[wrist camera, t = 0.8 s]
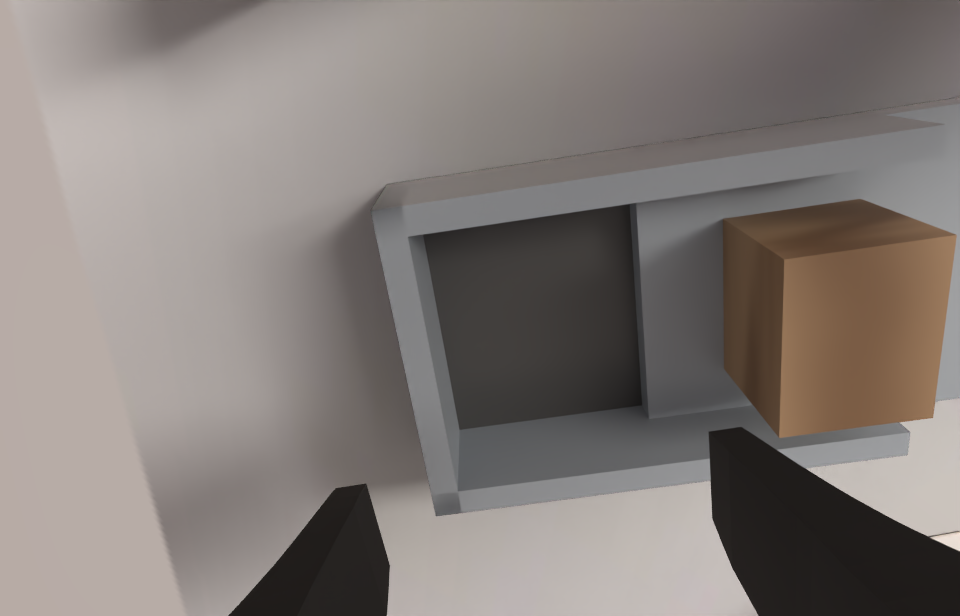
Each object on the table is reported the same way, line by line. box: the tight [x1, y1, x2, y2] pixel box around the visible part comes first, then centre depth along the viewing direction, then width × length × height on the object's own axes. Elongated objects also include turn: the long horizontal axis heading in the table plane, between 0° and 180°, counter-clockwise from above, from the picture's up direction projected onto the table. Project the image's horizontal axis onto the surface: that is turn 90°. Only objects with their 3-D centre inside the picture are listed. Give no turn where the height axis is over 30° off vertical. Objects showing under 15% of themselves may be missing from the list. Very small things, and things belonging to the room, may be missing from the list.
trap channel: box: [371, 97, 960, 516], centre depth 19 cm, size 26×10×4 cm, turn 98°
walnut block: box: [723, 199, 957, 438], centre depth 18 cm, size 4×5×4 cm
